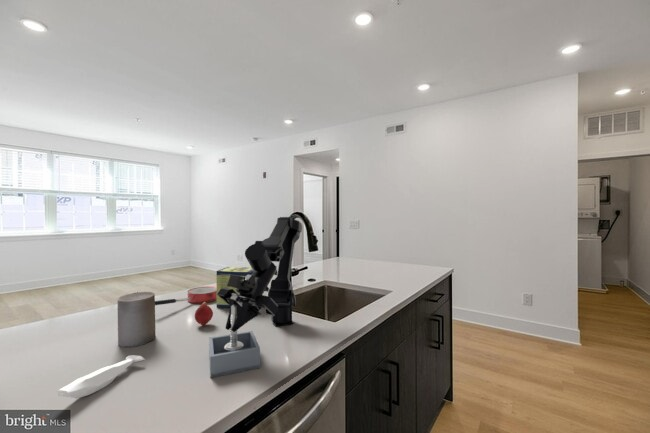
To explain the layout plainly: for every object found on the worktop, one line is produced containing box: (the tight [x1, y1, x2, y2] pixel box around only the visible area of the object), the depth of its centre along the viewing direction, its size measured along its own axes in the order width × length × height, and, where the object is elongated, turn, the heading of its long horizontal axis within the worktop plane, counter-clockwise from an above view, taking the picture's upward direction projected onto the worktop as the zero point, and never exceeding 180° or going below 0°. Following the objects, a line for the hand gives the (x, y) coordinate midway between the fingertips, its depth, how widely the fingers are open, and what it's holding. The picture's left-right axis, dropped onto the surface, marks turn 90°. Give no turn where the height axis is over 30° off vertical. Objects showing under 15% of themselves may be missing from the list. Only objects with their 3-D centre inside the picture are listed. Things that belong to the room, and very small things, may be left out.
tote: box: [208, 330, 261, 379], centre depth 76 cm, size 12×12×5 cm
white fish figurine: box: [56, 354, 146, 399], centre depth 65 cm, size 6×18×4 cm, turn 170°
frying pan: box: [155, 286, 217, 306], centre depth 122 cm, size 32×13×6 cm, turn 166°
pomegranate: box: [194, 302, 214, 327], centre depth 100 cm, size 6×6×8 cm
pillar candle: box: [116, 291, 156, 348], centre depth 88 cm, size 10×10×15 cm
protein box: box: [216, 266, 254, 310], centre depth 123 cm, size 10×16×16 cm
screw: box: [224, 305, 243, 352], centre depth 76 cm, size 13×5×5 cm
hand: (229, 330), depth 75 cm, fingers closed on screw, 2 cm apart
